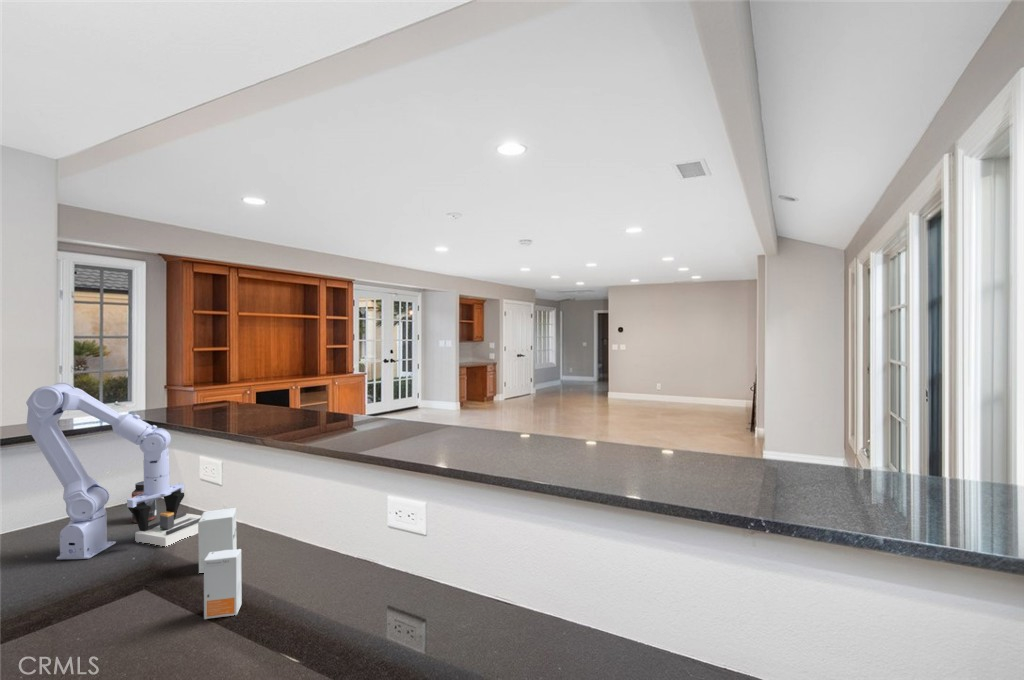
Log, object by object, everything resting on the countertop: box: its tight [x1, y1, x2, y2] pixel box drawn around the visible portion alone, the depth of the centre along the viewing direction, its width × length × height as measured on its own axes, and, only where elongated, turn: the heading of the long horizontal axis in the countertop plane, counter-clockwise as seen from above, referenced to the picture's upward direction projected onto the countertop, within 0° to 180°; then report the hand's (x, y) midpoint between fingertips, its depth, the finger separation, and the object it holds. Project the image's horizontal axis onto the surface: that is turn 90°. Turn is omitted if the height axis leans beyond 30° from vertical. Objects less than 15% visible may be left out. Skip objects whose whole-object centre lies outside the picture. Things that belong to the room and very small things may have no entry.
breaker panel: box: [134, 511, 202, 548], centre depth 143 cm, size 15×11×4 cm
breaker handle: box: [159, 510, 174, 529], centre depth 141 cm, size 2×3×4 cm, turn 72°
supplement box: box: [197, 507, 238, 574], centre depth 124 cm, size 7×7×13 cm
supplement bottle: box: [131, 480, 157, 524], centre depth 154 cm, size 6×6×11 cm
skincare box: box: [203, 548, 243, 620], centre depth 104 cm, size 6×4×12 cm
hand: (157, 525), depth 138 cm, fingers open, 7 cm apart
